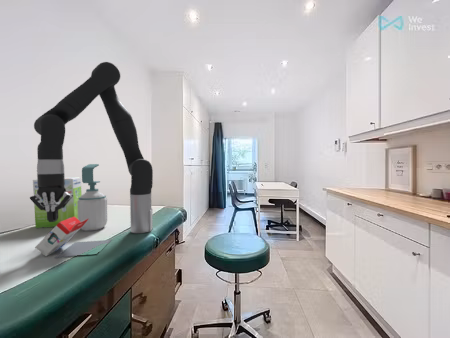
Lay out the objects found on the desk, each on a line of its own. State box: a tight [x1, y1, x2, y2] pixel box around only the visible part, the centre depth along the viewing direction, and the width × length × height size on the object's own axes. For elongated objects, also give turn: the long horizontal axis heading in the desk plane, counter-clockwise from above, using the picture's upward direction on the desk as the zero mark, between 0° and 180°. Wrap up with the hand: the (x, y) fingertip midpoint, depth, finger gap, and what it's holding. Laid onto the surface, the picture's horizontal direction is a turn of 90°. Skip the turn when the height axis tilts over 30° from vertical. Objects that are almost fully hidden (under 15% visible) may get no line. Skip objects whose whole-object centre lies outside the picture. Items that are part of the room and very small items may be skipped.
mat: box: [54, 239, 112, 259], centre depth 81 cm, size 13×14×1 cm
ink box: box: [34, 217, 88, 257], centre depth 78 cm, size 8×5×15 cm
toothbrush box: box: [32, 176, 83, 229], centre depth 114 cm, size 18×10×24 cm, turn 102°
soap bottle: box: [77, 163, 108, 232], centre depth 106 cm, size 12×12×31 cm
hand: (52, 221), depth 78 cm, fingers closed
